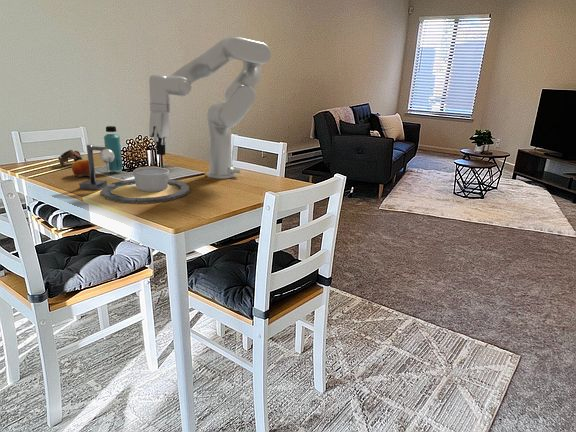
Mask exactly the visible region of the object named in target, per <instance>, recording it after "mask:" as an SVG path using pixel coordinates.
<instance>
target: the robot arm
mask: <svg viewBox="0 0 576 432" xmlns="http://www.w3.org/2000/svg"><path fill="white" fill-rule="evenodd" d="M271 57H272V50H271V48H270V46H269V45H268V44H266V43H264V42H261V41H258V40H252V39H248V38H244V37H240V36H226V37H224V38H222V39H219V41H217V42H216V43H215V44H214V45H212V46H211V47H210V48H209V49H207V50H205V51H204V52H203V53H202V54H200V55H199V56H197V57H194V59H192V60H191V61H190V62H188V63H186V64H184V65H183V66H181V67H180V68H179V69H178V70H176V71H175V72H173V73H172V74H171V75H169V76H167V75H163V74H162V75H160V74H152V75H150V76H149V79H148V84H149V85H148V86H149V88H148V89H149V112H150V113H149V122H148V123H149V124H148V125H149V127H148V128H149V133H148V134H149V137H150V138H153V141H154V142H155V151H156V152H155V153H156V155H157V156H165V155H166V143H167V141H166V140H167V138H168V137H169V136H170V131H171V129H170V127H171V126H170V125H171V124H170V114H169V113H171V103H170V102H171V98H170V97H171V96H178V97H185V96H187V95H189V94H190V92H191V90H192V84H193V83H195V82H196V81H199V80H201V79H204V78H207V77H210V76H212V75H214V74H215V73H217V72H218V71H219V70H220V69H222V68H223V67H225V65H227V64H228V63H229V62H231V61H232V60H238V61H242V69H241V71H239V73H238V75H237V76H236V77H235V78H234V80H233V81H232V83H230V85H229V86H228V87H227V88H226V90H225V92H224V99H225V101H226V102H214V103H212V104H211V105H210V106H209V107H208V109H207V114H206V115H207V116H206V118H207V125H208V135H209V136H208V138H209V139H208V140H209V141H208V142H209V143H208V146H209V147H208V148H209V150H208V151H209V157H208V158H209V159H208V160H209V161H208V163H209V171H207V172H206V173H205V176H206V177H208V178H209V179H210V178H211V179H217V180H218V179H219V180H223V179H232V178H234V177H235V176H236V175H235V174H239V175H240V174H241V173H242V172H241V171H242V170H241V169H240V168H238V167H237V168H235V167H234V164H232V129H231V128H234V127H236V125H238V124H239V123H241V121H242V120H243V118H244V117H245V115H246V114H247V113H248V112H249V110H250V109H252V107H253V105H254V104H255V101H256V92H255V90H254V89H255V88H256V86H257V85H258V84H259V81H260V80H261V76H262V75H261V73H262V71H261V70H262V69H261V66H262V65H266V64H268V63H269V62H270V60H271Z"/></svg>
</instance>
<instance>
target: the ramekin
mask: <svg viewBox="0 0 576 432" xmlns="http://www.w3.org/2000/svg"><path fill="white" fill-rule="evenodd" d="M132 174H133V177H134V178H133V179H135V186H136V189H138V190H139V191H142V192H160V191H163V189H164V190H165V189H166V188H167V187H168V185H169V184H168V179H169V175H170V169H167V168H165V167H156V166H145V167H138V168H136V169H133V171H132Z"/></svg>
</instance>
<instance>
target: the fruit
mask: <svg viewBox="0 0 576 432" xmlns="http://www.w3.org/2000/svg"><path fill="white" fill-rule="evenodd" d="M71 170H72V173H73V174H74V176H76V177H79V178H82V177H86V176H87V177H90V171H89V162H88V160H87V159H82V160H78V161H76V162H75V161H74V162H73V163H72V164H71Z"/></svg>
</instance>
